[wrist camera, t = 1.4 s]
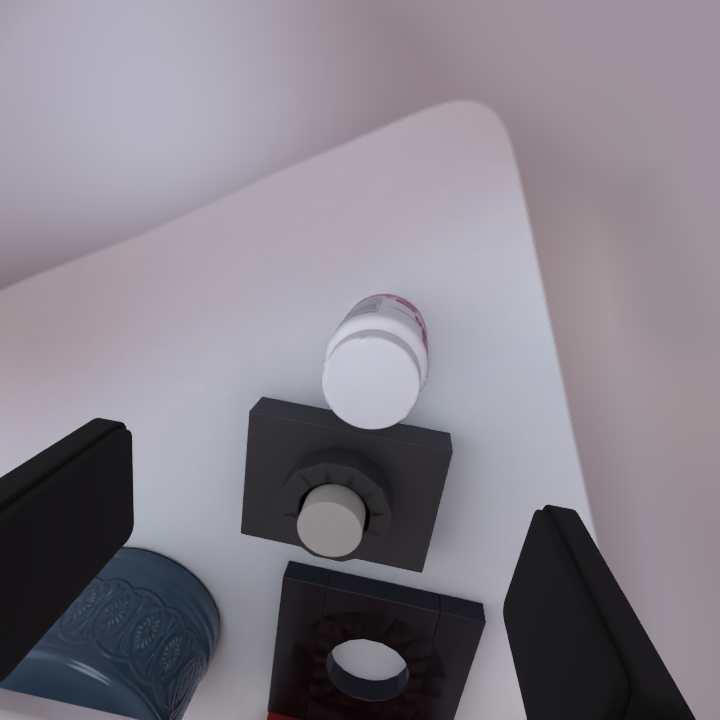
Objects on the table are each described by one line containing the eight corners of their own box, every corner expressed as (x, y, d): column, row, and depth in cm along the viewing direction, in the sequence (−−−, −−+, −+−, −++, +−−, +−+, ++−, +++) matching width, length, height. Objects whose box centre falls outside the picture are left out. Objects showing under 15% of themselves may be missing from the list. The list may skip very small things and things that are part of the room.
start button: (370, 490, 24) (366, 510, 23) (360, 541, 26) (356, 563, 24) (308, 477, 25) (300, 496, 23) (301, 528, 26) (293, 549, 24)
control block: (450, 432, 27) (455, 468, 23) (421, 548, 30) (422, 596, 26) (261, 396, 28) (237, 424, 24) (252, 512, 30) (229, 554, 27)
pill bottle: (442, 345, 25) (453, 406, 17) (373, 385, 26) (353, 458, 18) (398, 275, 24) (387, 304, 16) (328, 320, 25) (288, 367, 17)
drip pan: (483, 603, 30) (486, 622, 29) (441, 733, 35) (442, 755, 34) (289, 560, 31) (283, 576, 30) (273, 692, 36) (267, 711, 35)
